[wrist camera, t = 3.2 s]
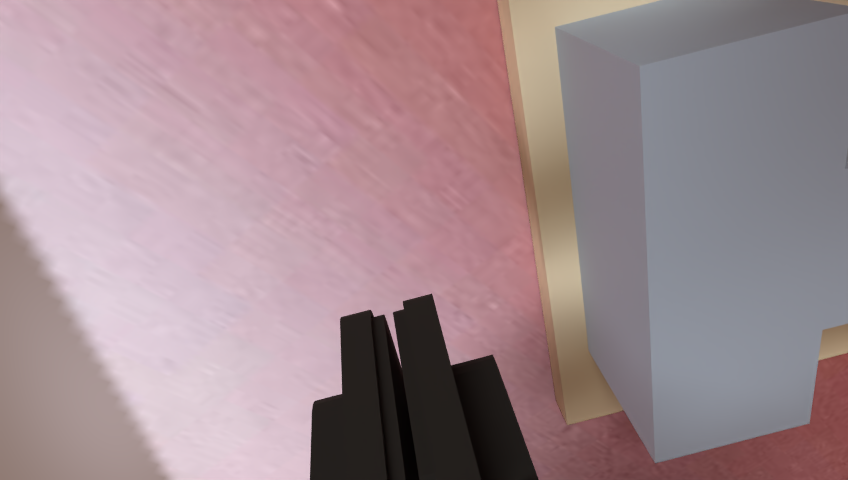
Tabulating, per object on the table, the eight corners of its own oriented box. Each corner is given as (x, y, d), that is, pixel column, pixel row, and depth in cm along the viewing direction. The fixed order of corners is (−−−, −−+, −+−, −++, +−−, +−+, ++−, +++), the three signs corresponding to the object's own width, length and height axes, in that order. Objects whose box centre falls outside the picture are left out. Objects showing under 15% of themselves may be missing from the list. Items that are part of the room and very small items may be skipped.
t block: (892, 272, 19) (1039, 363, 15) (588, 350, 19) (655, 463, 15) (962, -76, 14) (1205, -78, 10) (554, 26, 14) (639, 66, 10)
